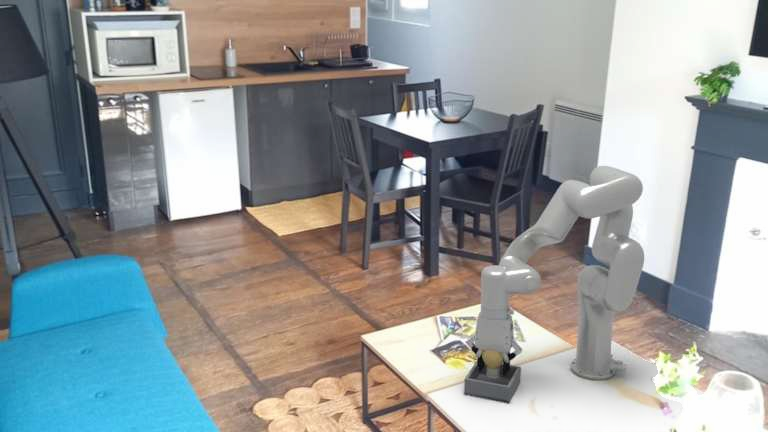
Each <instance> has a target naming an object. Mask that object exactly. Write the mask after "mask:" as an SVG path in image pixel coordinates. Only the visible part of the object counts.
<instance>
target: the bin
mask: <svg viewBox="0 0 768 432" xmlns="http://www.w3.org/2000/svg"><path fill="white" fill-rule="evenodd" d="M521 371H522V367H521V366H518V365H513V364H510V371H509V372H507V374H506V376H504V375H503V363H502V364H501V366H500V377H499V378H498V379H496V380H492V379H489V378H488V377H487V365H486V364H485V362H484V368H483V370H482V371H479V367H478V366H477V360H476V361H475V362H474V364H473V366H472V367H471V368H470V369H469V372H468V373H467V374H466V375H465V378H464V381H463V383H464V386H463V389H464V391H463V395H464V394H465V395H464V396H468V395H469V397H475V398H478V397H479V398H478V399H483V398H484V400H489V401H495V402H499V403H505V404H510V403H511V401H512V400H513V398H514V395H515V394H516V391H517V389H518V387H519V386H520V384H521V376H522V372H521Z"/></svg>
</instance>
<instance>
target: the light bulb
mask: <svg viewBox="0 0 768 432" xmlns="http://www.w3.org/2000/svg"><path fill="white" fill-rule="evenodd" d="M482 358H483V361H484V362H485V364H486V365H487V377H488V378H489V379H492V380H496V379H498V378H499V377H500V366H501V364H503V362H504V357H503V355H502V353H500V352H496V351H494V350H483V352H482Z"/></svg>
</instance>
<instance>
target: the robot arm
mask: <svg viewBox="0 0 768 432" xmlns="http://www.w3.org/2000/svg"><path fill="white" fill-rule="evenodd" d="M643 188H644V186H643V183H642V181H641V179H640V178H639V177H638V176H636V175H635V174H633V173H632V172H631V173H630V172H627V171H625V170H621V169H619V168H616V167H613V166H609V165H599V166H597V167H594V168H593V170H592V171H591V173H590V175H589V184H588V183H586V182H583V181H579V180H576V179H568V180H565V181H564V182H563V183H561V184H560V185H559V187H558V188H557V190H556V192H555V193H554V194H553V196H552V198H551V199H550V201H549V202H548V204H547V206H546V207H545V209H544V211H542V214H541V215H540V216H539V219H538V220H537V221H536V223H534V225H533V226H532V227H529V228H528V229H526V230H525V231H523V233H521V234H520V235H518V236H517V237H515V239H514V240H512V242H511V243H510V245H509V246H508V247H507V248H506V250H505V252H504V254H503V256H502V257H501V259H500V261H499V264H498V265H496V264H495V265H487V266H485V267H484V268H482V270H481V274H480V312H478V316H477V319H476V323H475V332H474V334H473V335H472V336H470V338H468V339H467V340H466V342H465V344H466V345H467V346H468V347H469V348H470V349H471V351H472V352H473V353H474V355H475V357H476V359H477V360H476V361H477V366H478V367H479V371H482V370H483V368H484V361H483V358H482V352H483V350H494V351H496V352H500V353H502V355H503V357H504V362H503V363H502V364H503V375H504V376H506V374H507V372H509V371H510V365H511V361H512V360H513V359H516V357H517V356H519V355H520V354H522V352H523V348H522V347H521V346H520V344H519V343H517V342H516V340H515V334H514V333H515V332H514V331H515V330H514V329H515V328H514V321H513V317H512V315H514V314H515V310H514V309H513V308H511V307H510V305H511V304H510V295H530V294H533V293H535V292H537V290H538V289H540V287H541V283H542V279H541V278H542V277H541V275H540V274H539V272H538V271H537V269H534V268H533V267H532V266H530V265H528V264H527V263H528V261H529V259H530V258H531V256H532V255H533V254H534V253H535V252H536V251H538V250H539V249H541V248H543V247H546V246H550V245H555V244H558V243H559V244H560V243H562V242H563V241H564V240H565V239H566V237H567V235H568V234H569V232H570V230H572V228H573V226H574V224H575V222H577V220H578V219H579V217H581V218H584V219H595V218H599V220H598V224H597V227H596V229H595V234H594V238H593V241H592V247H591V254H592V256H593V258H594V259H595V260H597V261H598V262H600V263H601V264H603V265H605V266H607V267H609V269H607V268H606V267H603V266H601V265H598V264H597V265H596V264H590V265H587V266H585V267H584V268H583V269H582V270H580V272H579V274H578V276H577V280H576V281H577V282H576V290H577V297H578V298H577V299H578V319H577V322H578V323H577V336H576V337H577V340H576V354H575V355H576V356H575V357H576V358H575V359H573V360H571V361H570V365H569V367H570V371H571V372H572V373H573V374H575V375H576V376H578V377H580V378H583V379H588V380H595V381H599V380H600V381H601V380H607V379H610V378H612V377H613V376H615V374H616V371H620V372H623V373H625V372H626V371H627V365H626V364H624V363H623V360H615V359H614V358H613V354H612V340H613V339H612V338H613V326H614V313H619V312H620V313H621V312H622V311H625V310H626V309H627V308H628V307H629V306H630V304H631V303H632V301H633V300H634V298H635V297H634V296H635V294H636V291H637V288H638V285H639V281H640V278H641V275H642V271H643V267H644V264H645V251H644V249H643V246H642V244H640V243H639V242H638V241H636V240H635V239H633V238H631V237H629V236H630V231H631V227H632V222H633V217H634V207H633V204H635V203H636V202H637V201H638V200H639V199H640V198H641V196H642V194H643V190H644V189H643ZM512 348H513V350H514V351H512V352H511V349H512Z"/></svg>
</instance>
